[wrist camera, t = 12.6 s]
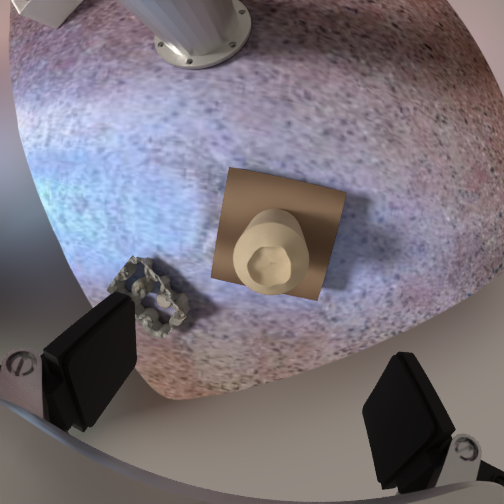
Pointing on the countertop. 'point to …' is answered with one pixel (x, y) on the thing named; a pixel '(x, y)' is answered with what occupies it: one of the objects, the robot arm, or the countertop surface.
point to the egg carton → (145, 286)
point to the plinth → (285, 198)
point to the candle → (271, 253)
